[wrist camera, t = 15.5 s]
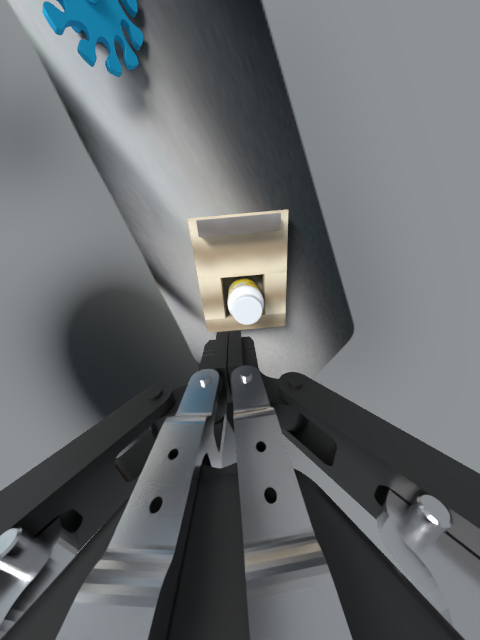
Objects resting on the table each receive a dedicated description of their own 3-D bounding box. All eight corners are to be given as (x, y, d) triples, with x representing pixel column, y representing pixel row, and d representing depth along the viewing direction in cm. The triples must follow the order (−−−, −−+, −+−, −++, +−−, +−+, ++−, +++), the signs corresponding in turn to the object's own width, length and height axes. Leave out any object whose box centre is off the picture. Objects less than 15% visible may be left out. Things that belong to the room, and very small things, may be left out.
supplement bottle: (262, 298, 33) (273, 320, 24) (236, 310, 34) (237, 335, 25) (251, 271, 31) (258, 284, 22) (223, 284, 32) (219, 302, 23)
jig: (192, 220, 28) (183, 216, 23) (283, 212, 27) (292, 207, 23) (209, 325, 35) (205, 338, 31) (281, 319, 35) (288, 331, 30)
